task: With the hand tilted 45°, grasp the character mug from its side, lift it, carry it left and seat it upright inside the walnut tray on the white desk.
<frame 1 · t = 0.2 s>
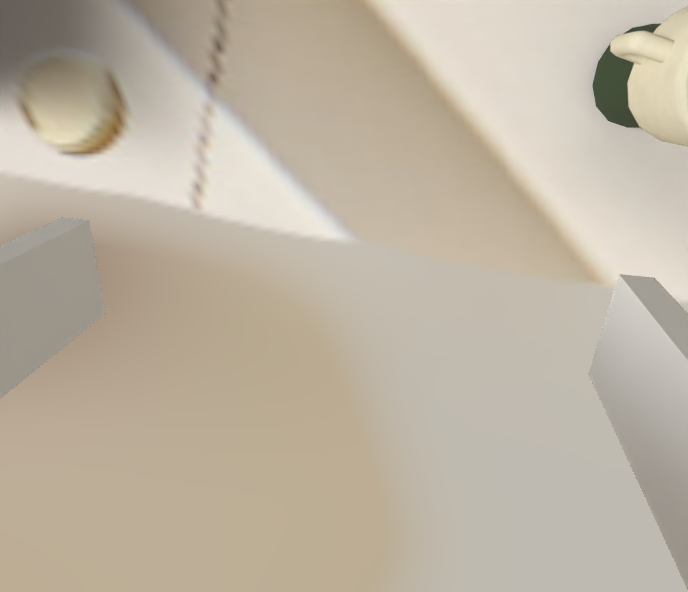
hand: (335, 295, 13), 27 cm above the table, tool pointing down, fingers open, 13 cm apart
character mug: (635, 77, 35), on the table
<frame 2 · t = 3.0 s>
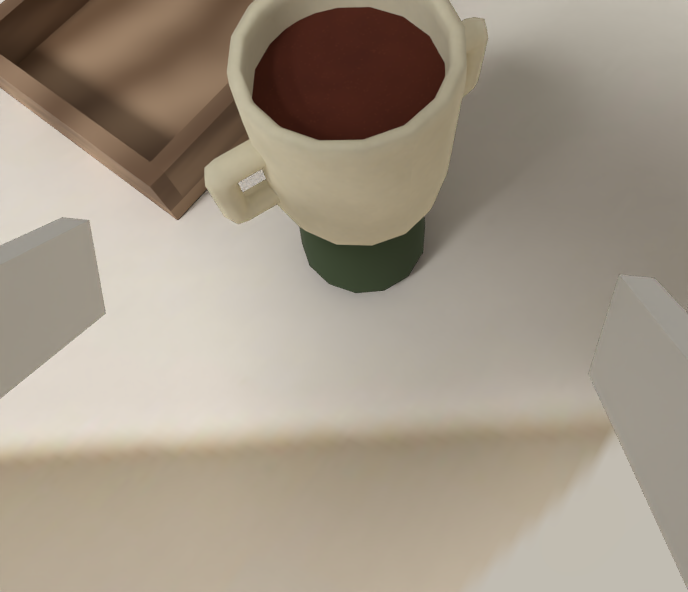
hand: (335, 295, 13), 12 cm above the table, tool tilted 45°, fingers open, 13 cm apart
walnut tray: (175, 58, 32), on the table
character mug: (363, 242, 27), on the table
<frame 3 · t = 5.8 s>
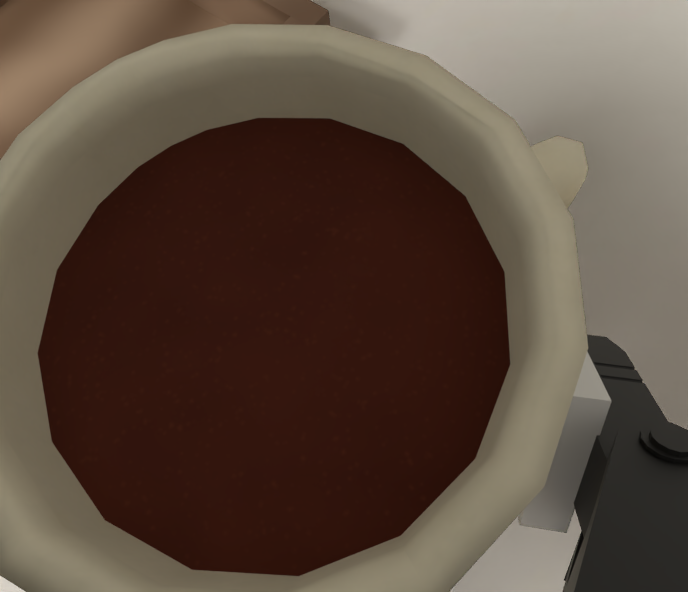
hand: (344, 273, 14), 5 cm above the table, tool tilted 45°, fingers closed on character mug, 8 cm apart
walnut tray: (83, 117, 23), on the table
character mug: (341, 415, 18), on the table, touching gripper
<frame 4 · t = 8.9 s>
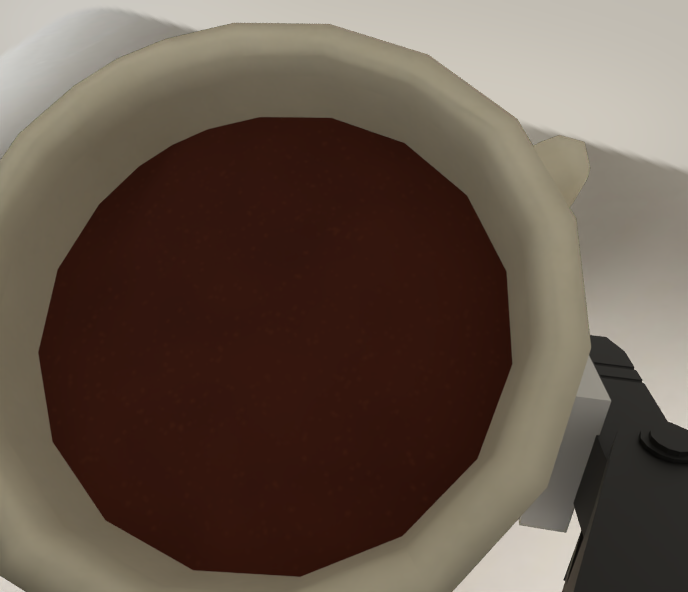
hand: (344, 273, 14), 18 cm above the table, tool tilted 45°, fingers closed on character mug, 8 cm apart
character mug: (342, 415, 18), point 13 cm above the table, touching gripper
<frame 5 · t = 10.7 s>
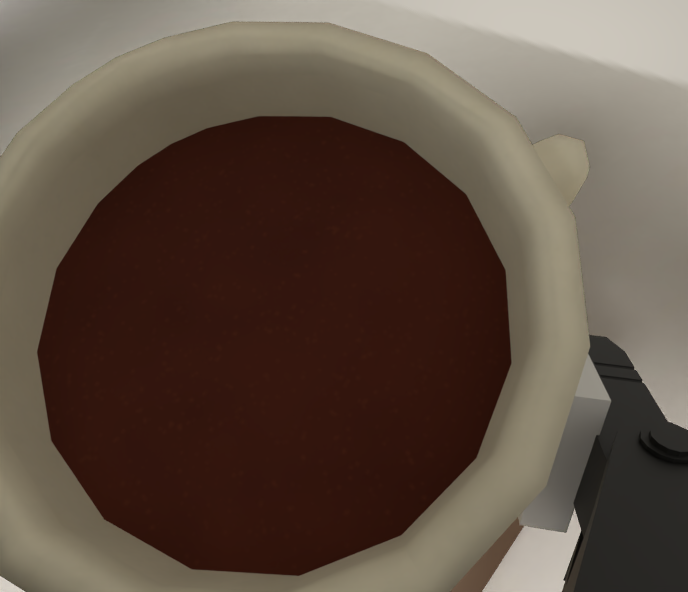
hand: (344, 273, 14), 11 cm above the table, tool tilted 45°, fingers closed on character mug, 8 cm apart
walnut tray: (341, 422, 24), on the table
character mug: (341, 414, 18), point 6 cm above the table, touching gripper
when the fingers open (7 cm above the table, at t = 12.2 s): character mug drops 1 cm, resting on walnut tray.
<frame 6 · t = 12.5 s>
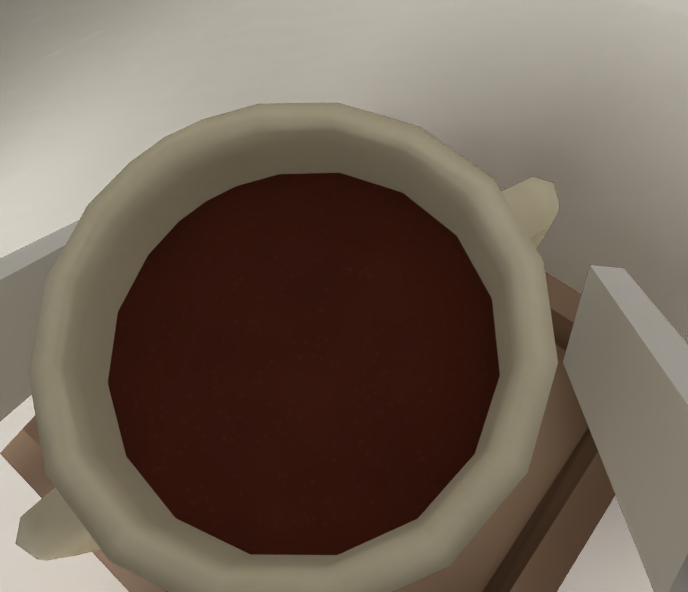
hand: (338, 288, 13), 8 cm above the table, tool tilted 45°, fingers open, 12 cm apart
walnut tray: (346, 421, 20), on the table
character mug: (351, 420, 19), point 1 cm above the table, touching walnut tray
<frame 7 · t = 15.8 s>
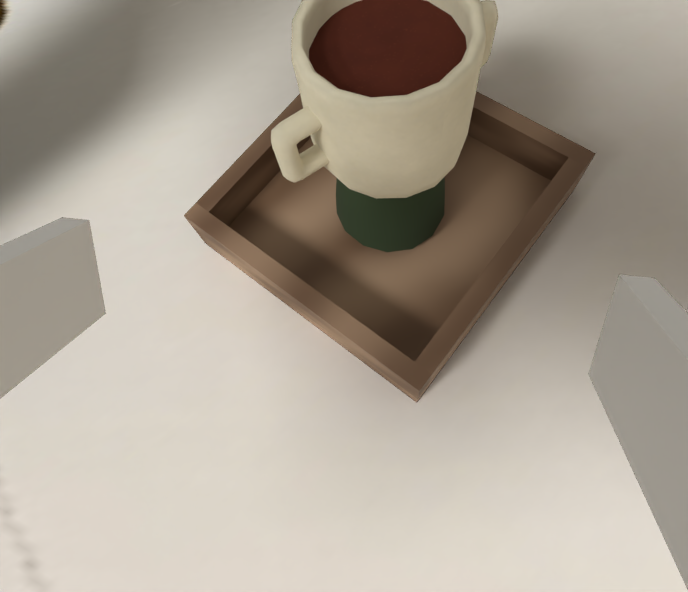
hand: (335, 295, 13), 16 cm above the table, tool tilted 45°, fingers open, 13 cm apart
walnut tray: (386, 216, 31), on the table
character mug: (390, 210, 31), point 1 cm above the table, touching walnut tray
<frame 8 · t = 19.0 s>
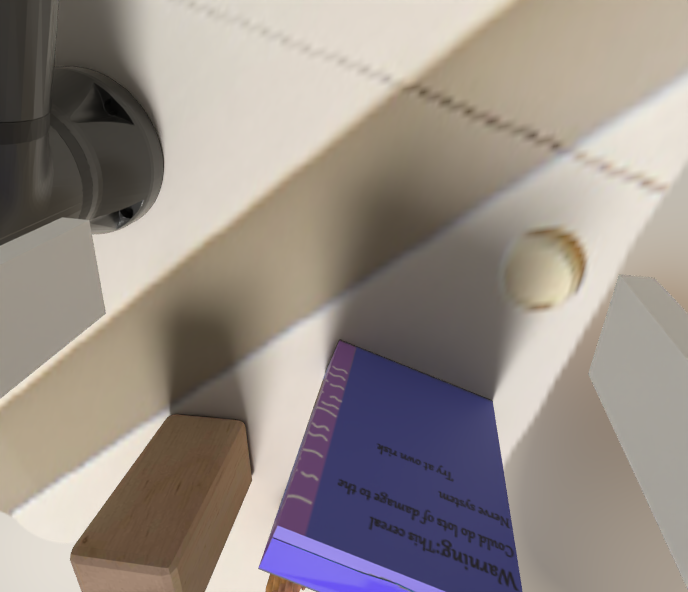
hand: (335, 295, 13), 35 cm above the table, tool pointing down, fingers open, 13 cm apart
ammunition clip: (306, 517, 67), on the table
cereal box: (407, 385, 56), on the table
wooden block: (213, 444, 64), on the table
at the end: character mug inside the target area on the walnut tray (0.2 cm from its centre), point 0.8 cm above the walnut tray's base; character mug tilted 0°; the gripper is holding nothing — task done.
